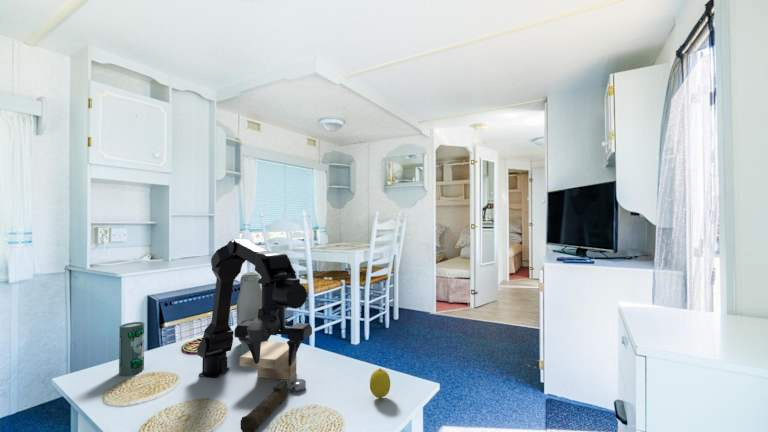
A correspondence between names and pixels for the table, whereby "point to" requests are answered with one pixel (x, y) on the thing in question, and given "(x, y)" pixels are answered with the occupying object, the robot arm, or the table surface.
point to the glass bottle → (249, 297)
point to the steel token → (297, 385)
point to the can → (131, 348)
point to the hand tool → (265, 407)
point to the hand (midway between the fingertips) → (273, 364)
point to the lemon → (380, 383)
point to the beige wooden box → (271, 361)
